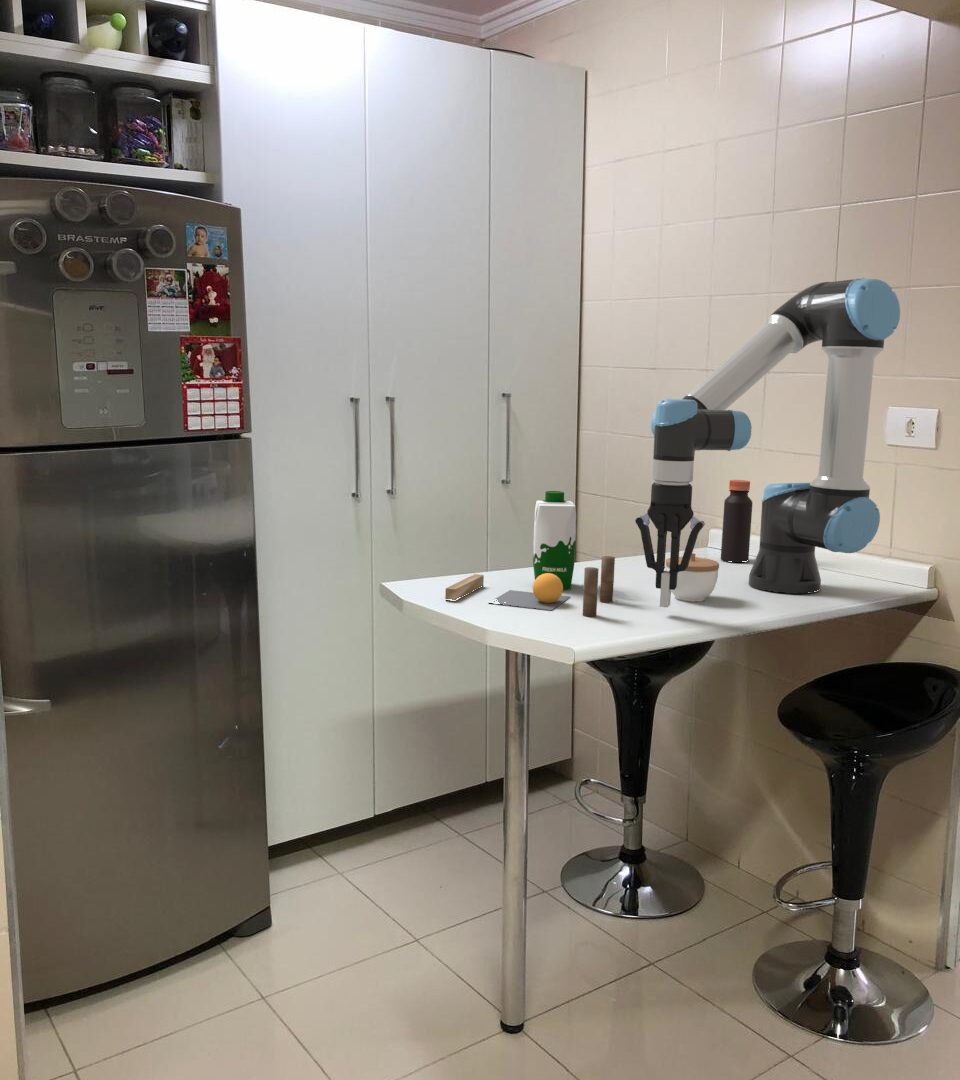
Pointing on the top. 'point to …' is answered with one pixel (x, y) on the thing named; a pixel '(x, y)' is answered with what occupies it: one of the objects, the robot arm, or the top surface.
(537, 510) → the milk carton
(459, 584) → the rail
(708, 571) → the lidded jar
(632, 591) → the top surface
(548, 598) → the ball
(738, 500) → the bottle
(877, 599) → the top surface
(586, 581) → the post
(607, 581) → the post
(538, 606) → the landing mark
